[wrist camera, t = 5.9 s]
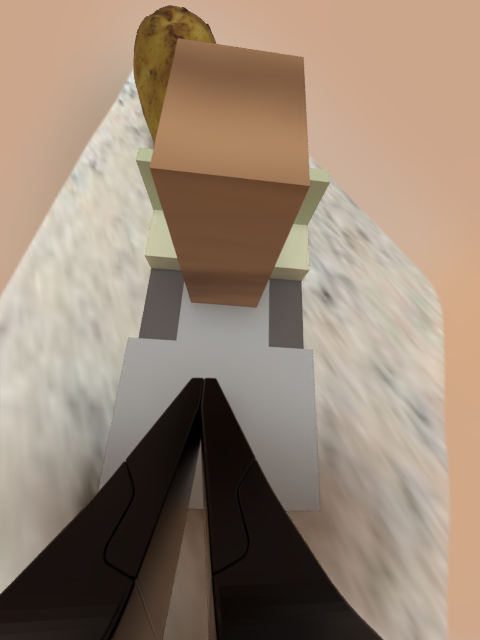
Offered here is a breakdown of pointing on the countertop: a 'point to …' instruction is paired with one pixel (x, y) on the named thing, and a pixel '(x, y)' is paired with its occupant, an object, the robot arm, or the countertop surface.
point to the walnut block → (231, 166)
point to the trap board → (227, 359)
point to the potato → (162, 55)
